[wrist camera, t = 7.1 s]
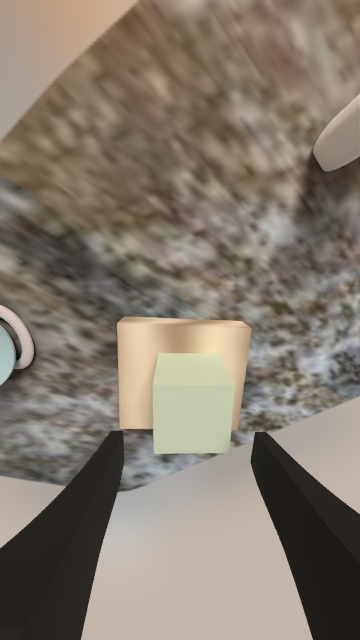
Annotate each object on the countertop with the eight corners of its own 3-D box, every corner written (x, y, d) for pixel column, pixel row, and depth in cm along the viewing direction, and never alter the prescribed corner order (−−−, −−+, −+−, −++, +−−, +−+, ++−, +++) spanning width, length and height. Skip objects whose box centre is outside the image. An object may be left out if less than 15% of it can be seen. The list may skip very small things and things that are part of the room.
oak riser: (239, 319, 20) (251, 328, 17) (228, 409, 22) (237, 430, 19) (125, 315, 19) (117, 323, 16) (126, 407, 22) (119, 428, 19)
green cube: (217, 353, 17) (234, 384, 12) (214, 405, 18) (229, 452, 14) (158, 353, 17) (152, 385, 12) (159, 405, 18) (153, 453, 13)
